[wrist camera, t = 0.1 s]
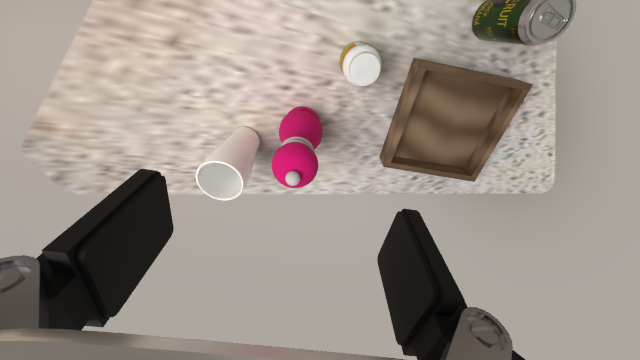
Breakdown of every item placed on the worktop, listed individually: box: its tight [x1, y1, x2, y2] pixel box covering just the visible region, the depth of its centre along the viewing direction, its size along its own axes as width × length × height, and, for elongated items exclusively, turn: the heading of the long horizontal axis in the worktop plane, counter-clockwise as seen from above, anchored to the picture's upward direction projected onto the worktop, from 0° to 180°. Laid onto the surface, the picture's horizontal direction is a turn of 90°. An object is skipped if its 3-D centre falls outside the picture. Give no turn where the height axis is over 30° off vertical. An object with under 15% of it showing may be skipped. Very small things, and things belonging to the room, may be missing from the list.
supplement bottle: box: [340, 42, 382, 87], centre depth 37 cm, size 5×5×10 cm
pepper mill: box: [272, 107, 322, 188], centre depth 38 cm, size 7×7×20 cm
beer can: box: [472, 0, 576, 45], centre depth 33 cm, size 5×5×12 cm
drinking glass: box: [196, 127, 260, 200], centre depth 42 cm, size 7×7×15 cm
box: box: [380, 58, 533, 182], centre depth 44 cm, size 18×18×4 cm
